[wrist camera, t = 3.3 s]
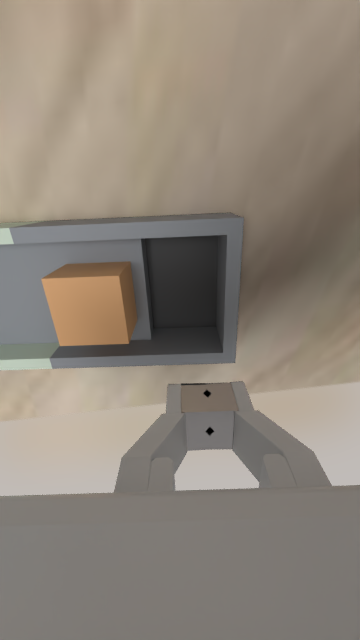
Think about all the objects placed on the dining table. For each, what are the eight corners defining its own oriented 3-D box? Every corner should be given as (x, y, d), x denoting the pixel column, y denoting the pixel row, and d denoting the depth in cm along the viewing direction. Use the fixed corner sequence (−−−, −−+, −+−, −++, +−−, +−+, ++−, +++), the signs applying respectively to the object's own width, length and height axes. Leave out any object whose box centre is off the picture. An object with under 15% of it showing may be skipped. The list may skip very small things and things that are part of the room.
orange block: (130, 261, 20) (119, 275, 16) (137, 319, 22) (128, 343, 19) (66, 263, 20) (40, 278, 17) (79, 321, 22) (59, 346, 19)
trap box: (230, 212, 21) (243, 217, 16) (225, 333, 26) (235, 362, 21) (-157, 230, 22) (-246, 239, 17) (-92, 343, 26) (-148, 374, 22)
